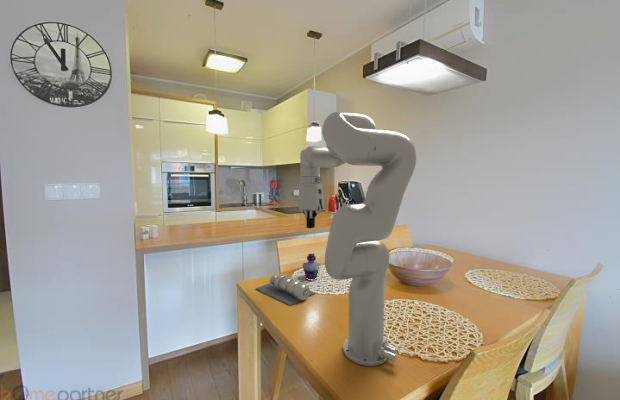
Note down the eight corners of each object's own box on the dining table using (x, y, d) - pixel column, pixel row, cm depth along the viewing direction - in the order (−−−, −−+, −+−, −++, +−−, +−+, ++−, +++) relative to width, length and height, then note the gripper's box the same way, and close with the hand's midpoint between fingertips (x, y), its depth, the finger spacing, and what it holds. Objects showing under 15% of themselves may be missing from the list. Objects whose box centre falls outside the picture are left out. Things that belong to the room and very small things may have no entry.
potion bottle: (314, 283, 123) (314, 257, 122) (298, 279, 128) (298, 254, 127) (323, 277, 131) (323, 253, 130) (308, 274, 135) (308, 250, 134)
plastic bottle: (305, 305, 104) (271, 290, 118) (314, 290, 108) (281, 277, 121) (297, 296, 101) (264, 281, 114) (307, 281, 104) (274, 269, 118)
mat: (314, 294, 112) (314, 292, 112) (290, 305, 101) (290, 304, 101) (280, 280, 127) (280, 279, 126) (255, 289, 116) (255, 288, 116)
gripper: (331, 181, 103) (331, 228, 104) (302, 181, 112) (303, 224, 114) (318, 181, 97) (319, 231, 98) (289, 181, 107) (290, 227, 108)
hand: (310, 227), depth 106 cm, fingers closed
